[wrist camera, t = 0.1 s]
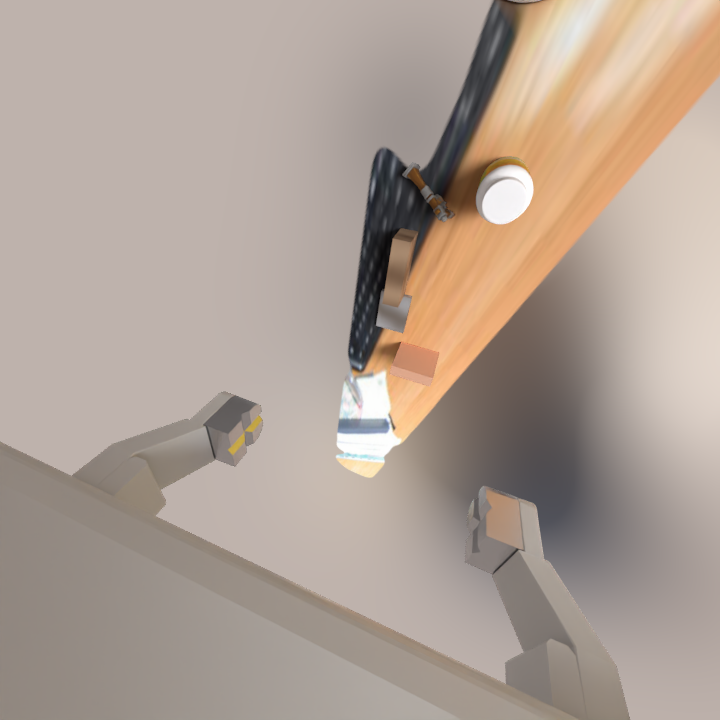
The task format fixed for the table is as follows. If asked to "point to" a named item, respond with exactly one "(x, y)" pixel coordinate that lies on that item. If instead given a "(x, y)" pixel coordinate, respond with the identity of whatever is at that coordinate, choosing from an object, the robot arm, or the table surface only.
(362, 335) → the table surface
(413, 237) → the brown bar with plate
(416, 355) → the tile
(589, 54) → the table surface
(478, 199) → the supplement bottle
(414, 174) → the wooden post with brackets
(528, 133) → the table surface
